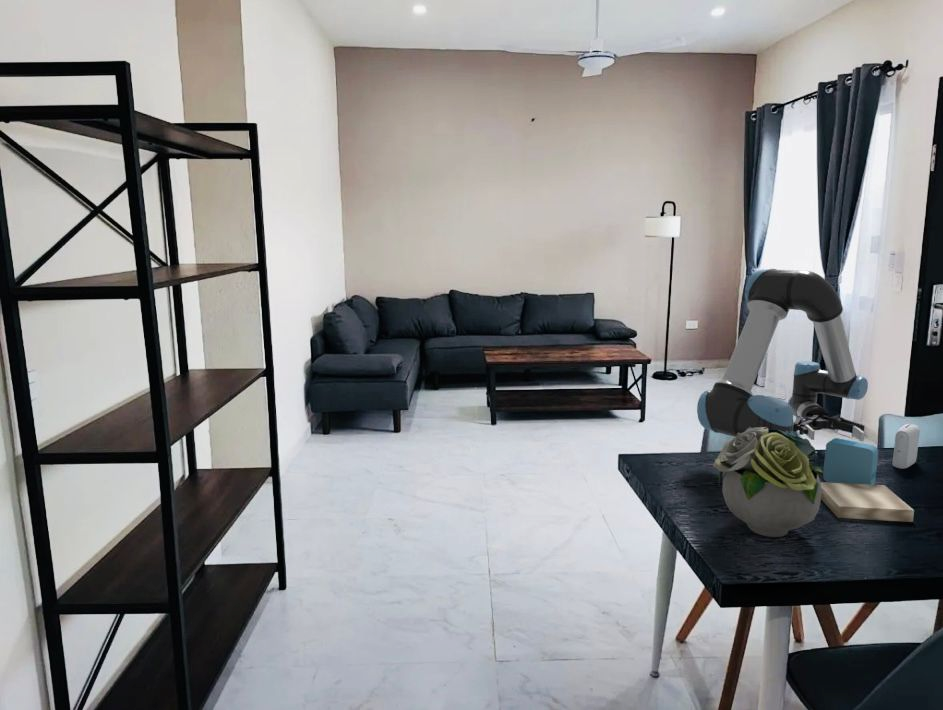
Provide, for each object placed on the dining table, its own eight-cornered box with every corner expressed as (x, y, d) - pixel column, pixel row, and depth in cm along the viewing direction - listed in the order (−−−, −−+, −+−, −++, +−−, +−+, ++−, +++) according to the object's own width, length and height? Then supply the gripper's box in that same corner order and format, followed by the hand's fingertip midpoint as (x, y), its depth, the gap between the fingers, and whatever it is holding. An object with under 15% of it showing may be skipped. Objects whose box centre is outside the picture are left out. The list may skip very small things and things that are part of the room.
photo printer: (906, 470, 200) (911, 429, 197) (889, 466, 203) (894, 426, 201) (918, 462, 206) (922, 423, 204) (902, 458, 209) (906, 420, 207)
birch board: (837, 517, 167) (839, 506, 166) (815, 492, 183) (816, 481, 182) (912, 522, 164) (914, 510, 164) (883, 495, 180) (884, 485, 180)
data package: (874, 488, 186) (879, 446, 184) (869, 492, 183) (874, 450, 181) (827, 477, 194) (831, 436, 192) (822, 481, 191) (826, 440, 189)
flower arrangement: (695, 510, 172) (701, 417, 167) (791, 507, 173) (799, 415, 169) (739, 556, 147) (747, 449, 143) (850, 553, 149) (862, 446, 144)
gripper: (853, 428, 218) (882, 449, 197) (771, 425, 222) (791, 446, 201) (855, 405, 216) (885, 425, 196) (773, 403, 220) (793, 422, 200)
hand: (837, 436), depth 198 cm, fingers open, 13 cm apart
